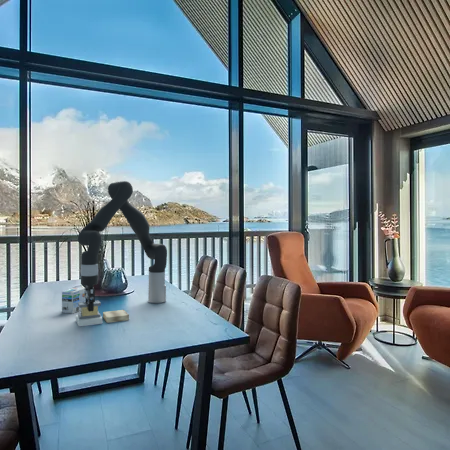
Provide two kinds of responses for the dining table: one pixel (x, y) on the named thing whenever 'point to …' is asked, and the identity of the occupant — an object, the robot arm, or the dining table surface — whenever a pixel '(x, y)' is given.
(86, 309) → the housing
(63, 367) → the dining table surface
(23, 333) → the dining table surface
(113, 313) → the stand
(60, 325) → the dining table surface
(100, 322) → the stand
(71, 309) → the light bulb box
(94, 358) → the dining table surface
